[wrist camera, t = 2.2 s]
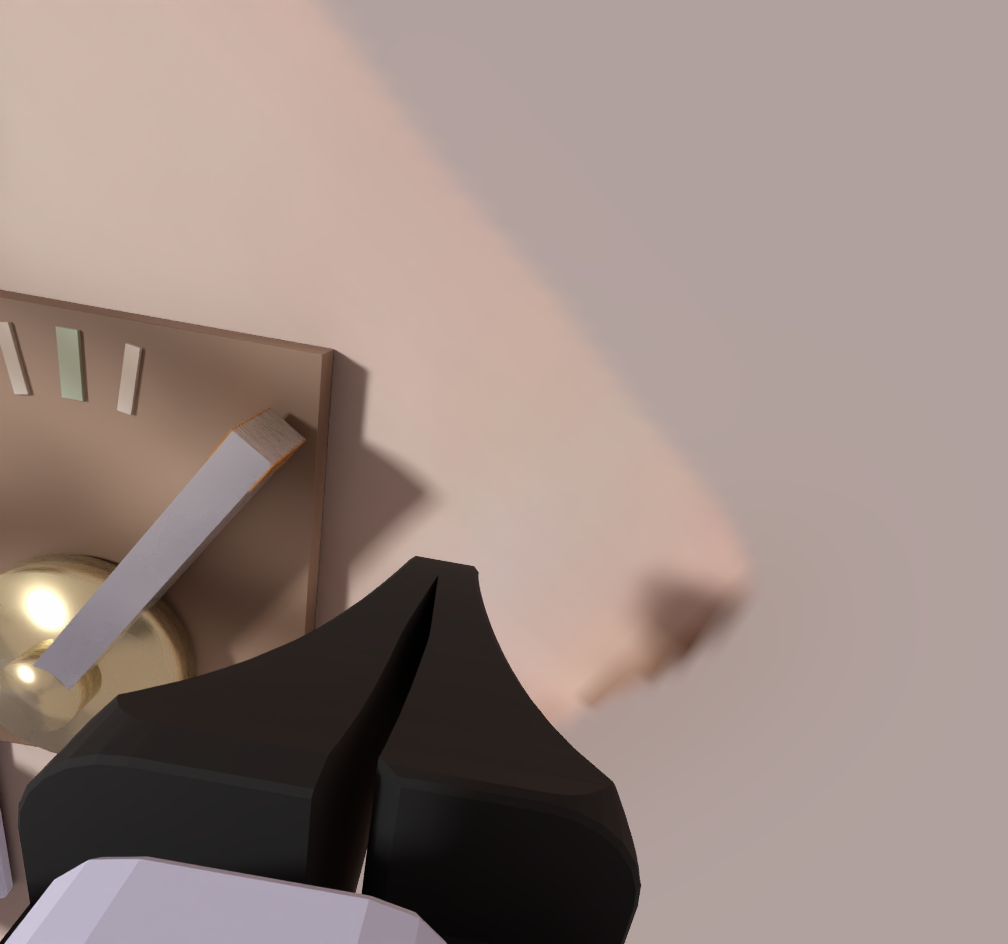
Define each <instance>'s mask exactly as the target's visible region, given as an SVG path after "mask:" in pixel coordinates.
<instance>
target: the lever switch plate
mask: <svg viewBox="0 0 1008 944" xmlns="http://www.w3.org/2000/svg"><path fill="white" fill-rule="evenodd" d="M333 356H334V349H329V348H324V347H318V346H312V345H307V344H301V343H295V342H290V341H284V340H279V339H273V338H267V337H262V336H256V335H251V334H245V333H239V332H234V331H228V330H223V329H217V328H211V327H206V326H200V325H195V324H189V323H183V322H178V321H172V320H167V319H161V318H155V317H150V316H144V315H139V314H133V313H127V312H122V311H116V310H110V309H105V308H99V307H94V306H88V305H82V304H77V303H71V302H66V301H60V300H54V299H49V298H43V297H38V296H32V295H26V294H21V293H15V292H10V291H4V290H0V574H1V573H3V572H4V571H6V570H8V569H9V568H11V567H13V566H15V565H17V564H19V563H20V562H22V561H24V560H27V559H30V558H33V557H36V556H42V555H47V554H63V553H64V554H77V555H83V556H88V557H93V558H96V559H99V560H102V561H106V562H108V563H111V564H113V565H115V566H118V565H119V564H120V562H121V561H122V560H123V559H124V558H125V557H126V555H127V554H128V553H129V552H130V551H131V550H132V548H133V547H134V546H135V545H136V544H137V542H138V541H139V540H140V539H141V538H142V537H143V535H144V534H145V533H146V532H147V531H148V530H149V528H150V527H151V526H152V525H153V524H154V523H155V521H156V520H157V519H158V518H159V517H160V515H161V514H162V513H163V512H164V511H165V510H166V508H167V507H168V506H169V505H170V504H171V503H172V501H173V500H174V499H175V498H176V497H177V495H178V494H179V493H180V492H181V491H182V490H183V488H184V487H185V486H186V485H187V484H188V483H189V481H190V480H191V479H192V478H193V477H194V476H195V474H196V473H197V472H198V471H199V470H200V468H201V467H202V466H203V465H204V464H205V463H206V461H207V460H208V459H209V458H208V456H209V455H210V453H211V452H212V451H213V450H214V449H215V447H216V446H217V445H218V444H219V443H220V442H221V440H222V439H223V438H224V437H225V436H226V435H227V433H228V432H229V431H230V430H231V429H232V428H234V427H236V426H238V425H239V424H241V423H243V422H245V421H246V420H248V419H250V418H252V417H254V416H255V415H257V414H259V413H261V412H262V411H264V410H266V409H268V408H271V409H272V410H273V411H274V412H275V413H276V414H278V415H279V416H280V417H281V418H282V419H283V420H284V421H286V422H287V423H288V424H289V425H290V426H291V427H292V428H294V429H295V430H296V431H297V432H298V433H299V434H300V435H301V436H303V437H304V438H305V439H306V441H305V442H304V443H303V444H302V445H301V446H300V447H299V449H298V450H297V451H296V452H295V453H294V454H293V455H292V456H291V457H290V459H289V460H288V461H287V462H286V463H285V464H284V465H283V466H281V467H280V468H279V469H278V470H276V471H275V472H274V473H273V475H272V476H271V477H270V478H269V479H268V480H267V481H266V482H265V483H264V485H263V486H262V487H261V488H260V489H259V490H258V491H257V492H256V493H255V494H254V496H253V497H252V498H251V499H250V500H249V501H248V502H247V503H246V504H245V505H244V507H243V508H242V509H241V510H240V511H239V512H238V513H237V514H236V515H235V517H234V518H233V519H232V520H231V521H230V522H229V523H228V524H227V525H226V526H225V528H224V529H223V530H222V531H221V532H220V533H219V534H218V535H217V536H216V538H215V539H214V540H213V541H212V542H211V543H210V544H209V545H208V546H207V547H206V549H205V550H204V551H203V552H202V553H201V554H200V555H199V556H198V557H197V559H196V560H195V561H194V562H193V563H192V564H191V565H190V566H189V567H188V568H187V570H186V571H185V572H184V573H183V574H182V575H181V576H180V577H179V578H178V580H177V581H176V582H175V583H174V584H173V585H172V586H171V587H170V588H169V589H168V591H167V592H166V593H165V594H164V595H163V596H162V598H163V599H164V600H165V601H166V602H167V603H168V604H169V605H170V606H171V608H172V609H173V610H174V612H175V613H176V614H177V616H178V617H179V619H180V620H181V622H182V624H183V625H184V627H185V629H186V632H187V634H188V636H189V638H190V641H191V645H192V648H193V652H194V659H195V676H194V677H196V676H200V675H203V674H206V673H209V672H213V671H216V670H219V669H223V668H226V667H229V666H231V665H234V664H237V663H240V662H243V661H246V660H249V659H251V658H254V657H256V656H258V655H261V654H263V653H266V652H268V651H270V650H273V649H275V648H277V647H280V646H282V645H285V644H287V643H289V642H292V641H294V640H296V639H298V638H300V637H302V636H304V635H306V634H308V633H310V632H311V631H313V630H314V629H315V615H316V600H317V586H318V572H319V557H320V543H321V528H322V514H323V500H324V485H325V471H326V456H327V442H328V428H329V413H330V399H331V384H332V370H333ZM0 740H1V741H7V742H12V743H18V744H24V745H30V746H35V745H33V744H31V743H29V742H27V741H25V740H23V739H21V738H20V737H18V736H16V735H15V734H13V733H11V732H10V731H9V730H7V729H6V728H4V727H3V726H2V725H0ZM35 747H37V746H35Z"/></svg>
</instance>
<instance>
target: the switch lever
mask: <svg viewBox="0 0 1008 944" xmlns="http://www.w3.org/2000/svg"><path fill="white" fill-rule="evenodd" d="M305 441H306V439H305V438H304V437H303V436H301V435H300V434H299V433H298V432H297V431H296V430H295V429H294V428H292V427H291V426H290V425H289V424H288V423H287V422H286V421H284V420H283V419H282V418H281V417H280V416H279V415H278V414H276V413H275V412H274V411H273V410H272V409H271V408H268V409H266V410H264V411H262V412H261V413H259V414H257V415H255V416H254V417H252V418H250V419H248V420H246V421H245V422H243V423H241V424H239V425H238V426H236V427H234V428H232V429H231V430H230V431H229V432H228V433H227V435H226V436H225V437H224V438H223V439H222V440H221V442H220V443H219V444H218V445H217V446H216V447H215V449H214V450H213V451H212V452H211V453H210V455H209V456H208V458H209V459H208V460H207V461H206V463H205V464H204V465H203V466H202V467H201V468H200V470H199V471H198V472H197V473H196V474H195V476H194V477H193V478H192V479H191V480H190V481H189V483H188V484H187V485H186V486H185V487H184V488H183V490H182V491H181V492H180V493H179V494H178V495H177V497H176V498H175V499H174V500H173V501H172V503H171V504H170V505H169V506H168V507H167V508H166V510H165V511H164V512H163V513H162V514H161V515H160V517H159V518H158V519H157V520H156V521H155V523H154V524H153V525H152V526H151V527H150V528H149V530H148V531H147V532H146V533H145V534H144V535H143V537H142V538H141V539H140V540H139V541H138V542H137V544H136V545H135V546H134V547H133V548H132V550H131V551H130V552H129V553H128V554H127V555H126V557H125V558H124V559H123V560H122V561H121V562H120V564H119V565H118V566H115V565H113V564H111V563H108V562H106V561H102V560H99V559H96V558H93V557H88V556H83V555H77V554H64V553H63V554H47V555H42V556H36V557H33V558H30V559H27V560H24V561H22V562H20V563H19V564H17V565H15V566H13V567H11V568H9V569H8V570H6V571H4V572H3V573H1V574H0V725H2V726H3V727H4V728H6V729H7V730H9V731H10V732H11V733H13V734H15V735H16V736H18V737H20V738H21V739H23V740H25V741H27V742H29V743H31V744H33V745H35V746H37V747H40V748H42V749H45V750H48V751H50V752H54V753H57V754H58V753H59V752H60V751H61V750H62V749H63V748H64V747H65V745H66V744H67V743H68V742H69V741H70V740H71V739H72V738H73V737H74V736H75V735H76V734H77V733H78V732H79V731H80V730H81V729H82V728H83V727H84V726H85V725H86V724H87V723H88V722H89V721H90V720H91V719H92V718H93V717H94V716H95V715H96V714H97V713H98V712H99V711H100V710H102V709H103V708H104V707H105V706H106V705H107V704H108V703H109V702H110V701H112V700H113V699H114V698H115V697H116V696H117V695H118V694H123V693H128V692H133V691H138V690H142V689H146V688H151V687H155V686H159V685H164V684H168V683H172V682H177V681H181V680H185V679H189V678H192V677H194V676H195V659H194V652H193V648H192V645H191V641H190V638H189V636H188V634H187V632H186V629H185V627H184V625H183V624H182V622H181V620H180V619H179V617H178V616H177V614H176V613H175V612H174V610H173V609H172V608H171V606H170V605H169V604H168V603H167V602H166V601H165V600H164V599H163V598H162V596H163V595H164V594H165V593H166V592H167V591H168V589H169V588H170V587H171V586H172V585H173V584H174V583H175V582H176V581H177V580H178V578H179V577H180V576H181V575H182V574H183V573H184V572H185V571H186V570H187V568H188V567H189V566H190V565H191V564H192V563H193V562H194V561H195V560H196V559H197V557H198V556H199V555H200V554H201V553H202V552H203V551H204V550H205V549H206V547H207V546H208V545H209V544H210V543H211V542H212V541H213V540H214V539H215V538H216V536H217V535H218V534H219V533H220V532H221V531H222V530H223V529H224V528H225V526H226V525H227V524H228V523H229V522H230V521H231V520H232V519H233V518H234V517H235V515H236V514H237V513H238V512H239V511H240V510H241V509H242V508H243V507H244V505H245V504H246V503H247V502H248V501H249V500H250V499H251V498H252V497H253V496H254V494H255V493H256V492H257V491H258V490H259V489H260V488H261V487H262V486H263V485H264V483H265V482H266V481H267V480H268V479H269V478H270V477H271V476H272V475H273V473H274V472H275V471H276V470H278V469H279V468H280V467H281V466H283V465H284V464H285V463H286V462H287V461H288V460H289V459H290V457H291V456H292V455H293V454H294V453H295V452H296V451H297V450H298V449H299V447H300V446H301V445H302V444H303V443H304V442H305Z"/></svg>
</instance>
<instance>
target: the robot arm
mask: <svg viewBox="0 0 1008 944" xmlns="http://www.w3.org/2000/svg"><path fill="white" fill-rule="evenodd" d="M478 573H479V572H478V571H477V570H476V568H475V567H474V566H469V565H463V564H458V563H452V562H447V561H441V560H435V559H430V558H424V557H419V556H415V557H413V558H412V559H410V560H409V561H408V562H407V563H406V564H405V565H403V566H402V567H401V568H400V569H399V570H398V571H397V572H396V573H394V574H393V575H392V576H391V577H390V578H388V579H387V580H386V581H385V582H384V583H382V584H381V585H380V586H379V587H377V588H376V589H375V590H373V591H372V592H371V593H370V594H368V595H367V596H366V597H364V598H363V599H362V600H360V601H359V602H358V603H356V604H355V605H353V606H352V607H350V608H349V609H347V610H346V611H344V612H343V613H341V614H340V615H338V616H337V617H335V618H334V619H332V620H331V621H329V622H327V623H326V624H324V625H322V626H321V627H319V628H317V629H315V630H313V631H311V632H310V633H308V634H306V635H304V636H302V637H300V638H298V639H296V640H294V641H292V642H289V643H287V644H285V645H282V646H280V647H277V648H275V649H273V650H270V651H268V652H266V653H263V654H261V655H258V656H256V657H254V658H251V659H249V660H246V661H243V662H240V663H237V664H234V665H231V666H229V667H226V668H223V669H219V670H216V671H213V672H209V673H206V674H203V675H200V676H196V677H192V678H189V679H185V680H181V681H177V682H172V683H168V684H164V685H159V686H155V687H151V688H146V689H142V690H138V691H133V692H128V693H123V694H118V695H117V696H116V697H115V698H114V699H113V700H112V701H110V702H109V703H108V704H107V705H106V706H105V707H104V708H103V709H102V710H100V711H99V712H98V713H97V714H96V715H95V716H94V717H93V718H92V719H91V720H90V721H89V722H88V723H87V724H86V725H85V726H84V727H83V728H82V729H81V730H80V731H79V732H78V733H77V734H76V735H75V736H74V737H73V738H72V739H71V740H70V741H69V742H68V743H67V744H66V745H65V747H64V748H63V749H62V750H61V751H60V752H59V753H58V754H57V755H56V756H55V757H54V758H53V759H52V760H51V761H50V762H49V763H48V764H47V765H46V766H45V767H44V768H43V769H42V771H41V772H40V773H39V774H38V775H37V776H36V777H35V778H34V779H33V780H32V781H31V782H30V783H29V784H28V785H27V788H26V790H25V792H24V794H23V796H22V799H21V801H20V803H19V818H18V828H19V834H20V841H21V847H22V853H23V860H24V866H25V872H26V879H27V885H28V891H29V898H30V905H29V906H28V907H27V908H26V910H25V911H24V912H23V913H22V915H21V916H20V917H19V919H18V920H17V921H16V922H15V924H14V925H13V926H12V927H11V929H10V930H9V931H8V933H7V934H6V935H5V936H4V938H3V939H2V940H1V941H0V944H624V943H625V940H626V937H627V934H628V932H629V929H630V926H631V923H632V920H633V917H634V915H635V912H636V909H637V907H638V900H639V895H640V888H641V883H640V877H639V867H638V862H637V855H636V851H635V847H634V843H633V839H632V836H631V832H630V829H629V826H628V823H627V819H626V815H625V812H624V810H623V807H622V804H621V801H620V798H619V795H618V792H617V789H616V787H615V785H614V783H613V781H611V780H610V779H609V778H608V777H607V776H606V775H604V774H603V773H602V772H601V771H600V770H599V769H597V768H596V767H595V766H594V765H593V764H592V763H590V762H589V761H588V760H587V759H586V758H585V757H584V756H582V755H581V754H580V753H579V752H578V751H576V749H574V748H573V747H572V746H571V745H570V744H569V743H568V742H567V740H566V739H565V738H564V737H563V736H562V735H561V734H560V733H559V732H558V731H557V730H556V729H555V728H554V727H553V726H552V725H551V724H550V722H549V721H548V720H547V719H546V718H545V716H544V715H543V714H542V713H541V711H540V710H539V709H538V708H537V706H536V705H535V704H534V703H533V701H532V700H531V699H530V697H529V696H528V694H527V693H526V691H525V690H524V688H523V687H522V685H521V684H520V682H519V681H518V679H517V677H516V676H515V674H514V672H513V671H512V669H511V667H510V665H509V663H508V662H507V660H506V658H505V656H504V654H503V652H502V650H501V648H500V645H499V643H498V641H497V639H496V637H495V634H494V632H493V629H492V627H491V624H490V621H489V618H488V616H487V613H486V610H485V607H484V603H483V600H482V596H481V592H480V587H479V579H478ZM366 850H367V855H366V863H365V871H364V879H363V888H362V894H357V893H355V892H356V888H357V884H358V881H359V877H360V873H361V869H362V865H363V862H364V858H365V854H366ZM12 889H13V882H12V876H11V870H10V864H9V858H8V852H7V846H6V840H5V834H4V828H3V822H2V816H1V810H0V899H2V898H5V897H6V896H7V895H8V893H9V892H10V891H11V890H12Z"/></svg>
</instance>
